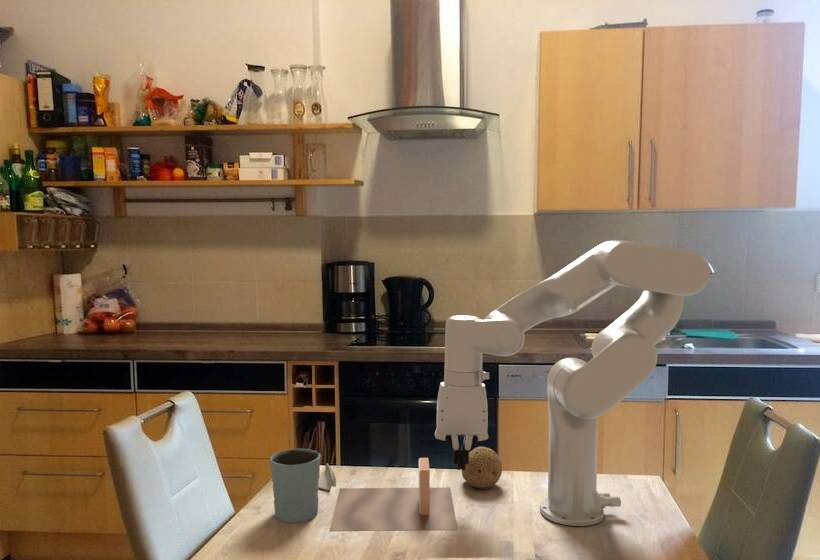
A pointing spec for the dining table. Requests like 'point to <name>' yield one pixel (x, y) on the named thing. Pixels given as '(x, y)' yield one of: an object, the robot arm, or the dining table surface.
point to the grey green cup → (295, 484)
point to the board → (392, 510)
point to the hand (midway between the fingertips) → (460, 467)
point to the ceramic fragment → (327, 479)
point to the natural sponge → (482, 468)
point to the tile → (424, 486)
